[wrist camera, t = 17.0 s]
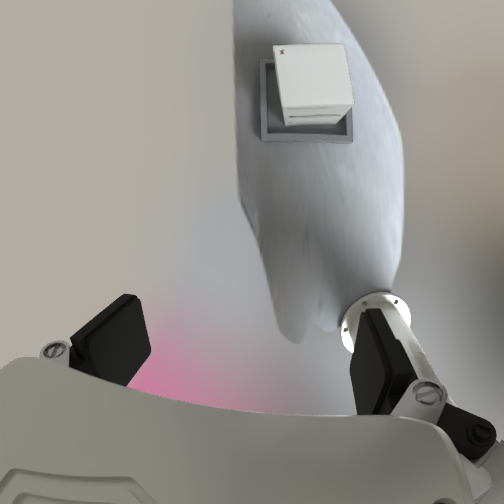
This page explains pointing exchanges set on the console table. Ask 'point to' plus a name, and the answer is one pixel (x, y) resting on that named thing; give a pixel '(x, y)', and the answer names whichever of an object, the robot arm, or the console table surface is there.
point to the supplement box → (313, 82)
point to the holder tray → (278, 132)
